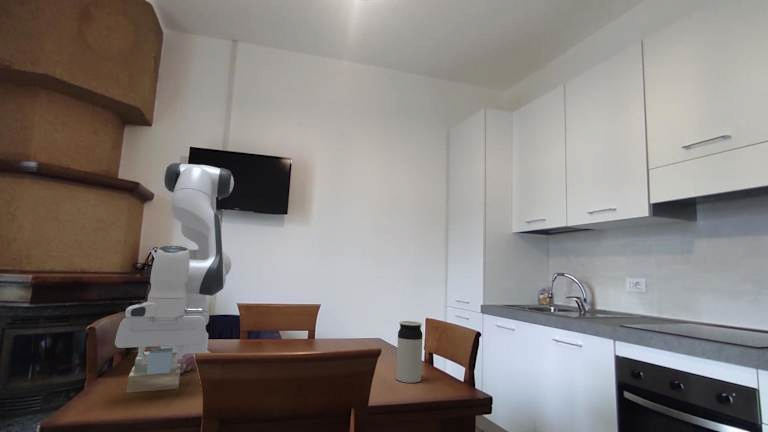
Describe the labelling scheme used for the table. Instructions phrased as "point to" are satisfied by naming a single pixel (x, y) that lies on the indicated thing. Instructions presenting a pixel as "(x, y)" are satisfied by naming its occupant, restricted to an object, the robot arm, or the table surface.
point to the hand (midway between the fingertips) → (159, 364)
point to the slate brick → (159, 360)
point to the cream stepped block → (152, 377)
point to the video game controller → (186, 362)
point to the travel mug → (409, 352)
